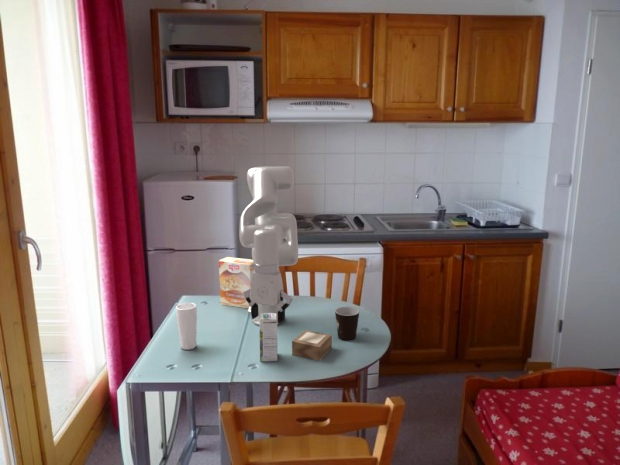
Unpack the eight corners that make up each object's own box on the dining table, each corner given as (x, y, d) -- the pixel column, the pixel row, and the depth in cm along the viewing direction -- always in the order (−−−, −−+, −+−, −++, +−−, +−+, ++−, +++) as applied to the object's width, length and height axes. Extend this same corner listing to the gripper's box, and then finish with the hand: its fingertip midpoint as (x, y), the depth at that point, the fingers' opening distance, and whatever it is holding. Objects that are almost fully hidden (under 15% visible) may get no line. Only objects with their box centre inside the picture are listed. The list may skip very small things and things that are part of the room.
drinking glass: (181, 353, 165) (178, 311, 161) (176, 345, 171) (173, 304, 167) (201, 348, 168) (198, 307, 165) (195, 341, 174) (193, 301, 170)
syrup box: (259, 354, 164) (258, 313, 161) (277, 353, 164) (276, 312, 161) (260, 362, 158) (258, 320, 155) (278, 361, 159) (277, 319, 156)
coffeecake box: (220, 304, 209) (217, 260, 204) (228, 299, 215) (226, 256, 211) (251, 309, 203) (249, 264, 199) (259, 303, 210) (258, 259, 205)
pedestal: (292, 354, 163) (292, 340, 162) (305, 342, 172) (305, 329, 171) (319, 360, 159) (319, 346, 158) (331, 348, 168) (331, 334, 167)
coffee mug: (357, 343, 171) (358, 316, 169) (333, 341, 173) (333, 314, 171) (360, 329, 183) (361, 304, 180) (337, 328, 184) (338, 302, 182)
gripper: (236, 268, 155) (238, 319, 158) (285, 274, 147) (286, 328, 151) (249, 262, 161) (251, 312, 165) (296, 268, 154) (297, 319, 157)
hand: (268, 319), depth 158 cm, fingers open, 9 cm apart
